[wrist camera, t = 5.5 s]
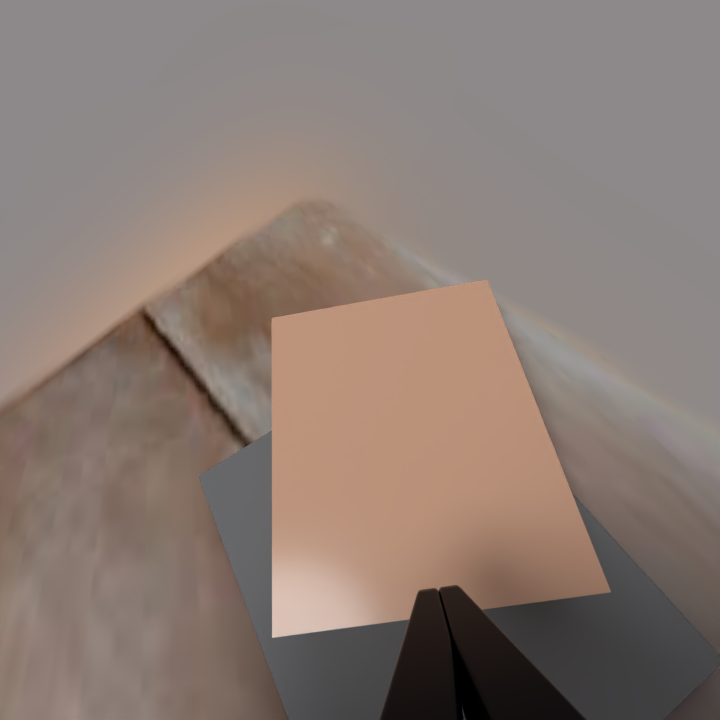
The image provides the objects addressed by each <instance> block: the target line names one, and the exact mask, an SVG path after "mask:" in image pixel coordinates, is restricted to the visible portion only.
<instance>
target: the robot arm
mask: <svg viewBox="0 0 720 720" xmlns="http://www.w3.org/2000/svg"><path fill="white" fill-rule="evenodd" d="M462 709H463V710H462ZM463 713H464V717H465V720H587V719H586V718H585V717H584V716H583V715H582V714H581V713H580V712H579V711H578V710H577V709H576V708H575V707H574V706H573V705H572V704H571V703H570V702H569V700H568V699H567V698H566V697H565V696H564V695H563V694H562V693H561V692H560V691H559V690H558V689H557V688H556V687H555V686H554V685H553V684H552V683H551V682H550V681H549V680H548V678H547V677H546V676H545V675H544V674H543V673H542V672H541V671H540V670H539V669H538V668H537V667H536V666H535V665H534V664H533V663H532V662H531V661H530V660H529V659H528V657H527V656H526V655H525V654H524V653H523V652H522V651H521V650H520V649H519V648H518V647H517V646H516V645H515V644H514V643H513V642H512V641H511V640H510V639H509V638H508V637H507V635H506V634H505V633H504V632H503V631H502V630H501V629H500V628H499V627H498V626H497V625H496V624H495V623H494V622H493V621H492V620H491V619H490V618H489V617H488V616H487V614H486V613H485V612H484V611H483V610H482V609H481V608H480V607H479V606H478V605H477V604H476V603H475V602H474V601H473V600H472V599H471V598H470V597H469V596H468V595H467V594H466V592H465V591H464V590H463V589H462V588H461V587H460V586H458V585H451V586H444V587H440V588H439V591H438V589H436V588H430V589H423V590H419V591H418V593H417V595H416V599H415V602H414V605H413V609H412V612H411V615H410V619H409V622H408V625H407V629H406V632H405V635H404V639H403V642H402V645H401V649H400V652H399V655H398V659H397V662H396V665H395V669H394V672H393V675H392V679H391V682H390V686H389V689H388V692H387V696H386V699H385V702H384V706H383V709H382V712H381V716H380V719H379V720H464V717H463Z"/></svg>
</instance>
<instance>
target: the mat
mask: <svg viewBox="0 0 720 720" xmlns="http://www.w3.org/2000/svg"><path fill="white" fill-rule="evenodd" d="M199 479H200V482H201V484H202V487H203V490H204V493H205V495H206V498H207V501H208V503H209V506H210V509H211V512H212V514H213V517H214V520H215V522H216V525H217V528H218V531H219V533H220V536H221V539H222V541H223V544H224V547H225V550H226V552H227V555H228V558H229V560H230V563H231V566H232V568H233V571H234V574H235V577H236V579H237V582H238V585H239V587H240V590H241V593H242V596H243V598H244V601H245V604H246V606H247V609H248V612H249V615H250V617H251V620H252V623H253V625H254V628H255V631H256V634H257V636H258V639H259V642H260V644H261V647H262V650H263V653H264V655H265V658H266V661H267V663H268V666H269V669H270V671H271V674H272V677H273V680H274V682H275V685H276V688H277V690H278V693H279V696H280V699H281V701H282V704H283V707H284V709H285V712H286V715H287V718H288V720H379V719H380V716H381V712H382V709H383V706H384V702H385V699H386V696H387V692H388V689H389V686H390V682H391V679H392V675H393V672H394V669H395V665H396V662H397V659H398V655H399V652H400V649H401V645H402V642H403V639H404V635H405V632H406V629H407V625H408V622H409V619H408V620H401V621H393V622H386V623H379V624H371V625H364V626H356V627H349V628H341V629H334V630H327V631H319V632H312V633H304V634H297V635H289V636H282V637H275V638H272V431H270V432H269V433H267V434H266V435H264V436H262V437H261V438H259V439H258V440H256V441H254V442H253V443H251V444H250V445H248V446H246V447H245V448H243V449H242V450H240V451H238V452H237V453H235V454H233V455H232V456H230V457H229V458H227V459H225V460H224V461H222V462H221V463H219V464H217V465H216V466H214V467H213V468H211V469H209V470H208V471H206V472H205V473H203V474H201V475H200V476H199ZM572 495H573V494H572ZM573 497H574V500H575V502H576V505H577V507H578V510H579V512H580V515H581V517H582V520H583V522H584V525H585V527H586V530H587V532H588V535H589V537H590V540H591V543H592V545H593V548H594V550H595V553H596V555H597V558H598V560H599V563H600V565H601V568H602V570H603V573H604V575H605V578H606V580H607V583H608V585H609V588H610V590H611V592H609V593H602V594H594V595H587V596H579V597H572V598H564V599H557V600H550V601H542V602H535V603H527V604H520V605H512V606H505V607H498V608H490V609H483V611H484V612H485V613H486V614H487V616H488V617H489V618H490V619H491V620H492V621H493V622H494V623H495V624H496V625H497V626H498V627H499V628H500V629H501V630H502V631H503V632H504V633H505V634H506V635H507V637H508V638H509V639H510V640H511V641H512V642H513V643H514V644H515V645H516V646H517V647H518V648H519V649H520V650H521V651H522V652H523V653H524V654H525V655H526V656H527V657H528V659H529V660H530V661H531V662H532V663H533V664H534V665H535V666H536V667H537V668H538V669H539V670H540V671H541V672H542V673H543V674H544V675H545V676H546V677H547V678H548V680H549V681H550V682H551V683H552V684H553V685H554V686H555V687H556V688H557V689H558V690H559V691H560V692H561V693H562V694H563V695H564V696H565V697H566V698H567V699H568V700H569V702H570V703H571V704H572V705H573V706H574V707H575V708H576V709H577V710H578V711H579V712H580V713H581V714H582V715H583V716H584V717H585V718H586V719H587V720H664V719H665V718H666V717H667V716H668V715H669V714H670V713H671V712H672V711H673V710H674V709H675V708H676V707H677V706H678V705H679V704H680V703H681V702H682V701H683V700H684V699H685V698H686V697H687V696H688V695H689V694H691V693H692V692H693V691H694V690H695V689H696V688H697V687H698V686H699V685H700V684H701V683H702V682H703V681H704V680H705V679H706V678H707V677H708V676H709V675H710V674H711V673H712V672H713V671H714V670H715V669H716V668H717V667H718V666H719V665H720V655H719V654H718V653H717V652H716V651H715V650H714V649H713V647H712V646H711V645H710V644H709V643H708V642H707V641H706V640H705V639H704V638H703V636H702V635H701V634H700V633H699V632H698V631H697V630H696V629H695V628H694V627H693V626H692V624H691V623H690V622H689V621H688V620H687V619H686V618H685V617H684V616H683V615H682V613H681V612H680V611H679V610H678V609H677V608H676V607H675V606H674V605H673V604H672V602H671V601H670V600H669V599H668V598H667V597H666V596H665V595H664V594H663V593H662V592H661V590H660V589H659V588H658V587H657V586H656V585H655V584H654V583H653V582H652V581H651V579H650V578H649V577H648V576H647V575H646V574H645V573H644V572H643V571H642V570H641V568H640V567H639V566H638V565H637V564H636V563H635V562H634V561H633V560H632V559H631V558H630V556H629V555H628V554H627V553H626V552H625V551H624V550H623V549H622V548H621V547H620V545H619V544H618V543H617V542H616V541H615V540H614V539H613V538H612V537H611V536H610V534H609V533H608V532H607V531H606V530H605V529H604V528H603V527H602V526H601V525H600V524H599V522H598V521H597V520H596V519H595V518H594V517H593V516H592V515H591V514H590V513H589V511H588V510H587V509H586V508H585V507H584V506H583V505H582V504H581V503H580V502H579V500H578V499H577V498H576V497H575V496H574V495H573ZM462 710H463V709H462ZM463 717H464V713H463ZM464 720H465V717H464Z"/></svg>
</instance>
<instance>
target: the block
mask: <svg viewBox="0 0 720 720" xmlns="http://www.w3.org/2000/svg"><path fill="white" fill-rule="evenodd" d="M451 585H458V586H460V587H461V588H462V589H463V590H464V591H465V592H466V594H467V595H468V596H469V597H470V598H471V599H472V600H473V601H474V602H475V603H476V604H477V605H478V606H479V607H480V608H481V609H482V610H483V609H490V608H498V607H505V606H512V605H520V604H527V603H535V602H542V601H550V600H557V599H564V598H572V597H579V596H587V595H594V594H602V593H609V592H611V590H610V588H609V585H608V583H607V580H606V578H605V575H604V573H603V570H602V568H601V565H600V563H599V560H598V558H597V555H596V553H595V550H594V548H593V545H592V543H591V540H590V537H589V535H588V532H587V530H586V527H585V525H584V522H583V520H582V517H581V515H580V512H579V510H578V507H577V505H576V502H575V500H574V497H573V495H572V492H571V490H570V487H569V485H568V482H567V479H566V477H565V474H564V472H563V469H562V467H561V464H560V462H559V459H558V457H557V454H556V452H555V449H554V447H553V444H552V442H551V439H550V437H549V434H548V432H547V429H546V427H545V424H544V421H543V419H542V416H541V414H540V411H539V409H538V406H537V404H536V401H535V399H534V396H533V394H532V391H531V389H530V386H529V384H528V381H527V379H526V376H525V374H524V371H523V369H522V366H521V363H520V361H519V358H518V356H517V353H516V351H515V348H514V346H513V343H512V341H511V338H510V336H509V333H508V331H507V328H506V326H505V323H504V321H503V318H502V316H501V313H500V311H499V308H498V305H497V303H496V300H495V298H494V295H493V293H492V290H491V288H490V285H489V283H488V280H481V281H476V282H470V283H464V284H459V285H453V286H448V287H442V288H437V289H431V290H425V291H420V292H414V293H409V294H403V295H398V296H392V297H386V298H381V299H375V300H370V301H364V302H359V303H353V304H347V305H342V306H336V307H331V308H325V309H320V310H314V311H308V312H303V313H297V314H292V315H286V316H281V317H275V318H272V638H275V637H282V636H289V635H297V634H304V633H312V632H319V631H327V630H334V629H341V628H349V627H356V626H364V625H371V624H379V623H386V622H393V621H401V620H408V619H410V615H411V612H412V609H413V605H414V602H415V599H416V595H417V593H418V591H419V590H423V589H430V588H436V589H438V591H439V588H440V587H444V586H451Z"/></svg>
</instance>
